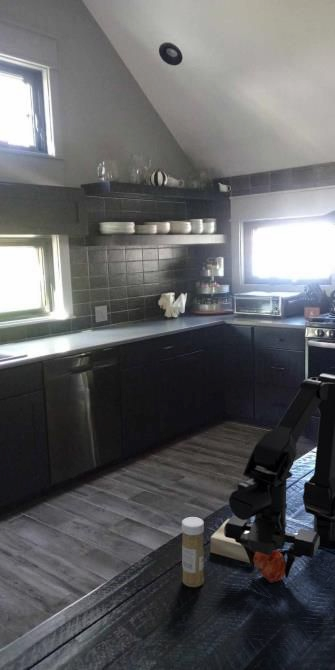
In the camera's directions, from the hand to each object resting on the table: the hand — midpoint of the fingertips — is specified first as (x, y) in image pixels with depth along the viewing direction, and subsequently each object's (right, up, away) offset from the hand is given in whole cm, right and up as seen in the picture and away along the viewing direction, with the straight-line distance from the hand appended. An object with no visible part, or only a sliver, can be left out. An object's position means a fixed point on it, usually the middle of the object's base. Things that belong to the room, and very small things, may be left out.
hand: (270, 572), depth 118 cm
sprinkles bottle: (-16, -2, 0) cm, 16 cm away
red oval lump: (0, -2, 0) cm, 2 cm away
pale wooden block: (-5, 0, +13) cm, 14 cm away
